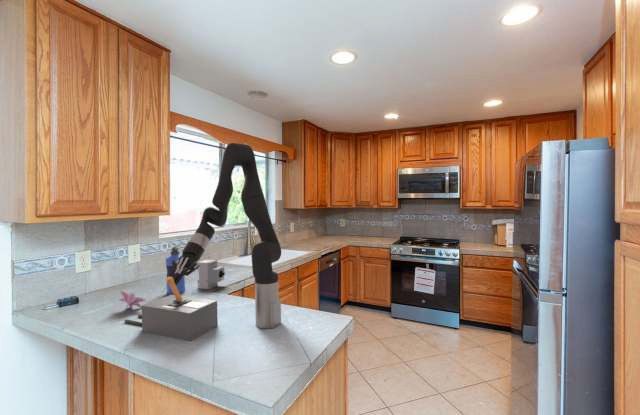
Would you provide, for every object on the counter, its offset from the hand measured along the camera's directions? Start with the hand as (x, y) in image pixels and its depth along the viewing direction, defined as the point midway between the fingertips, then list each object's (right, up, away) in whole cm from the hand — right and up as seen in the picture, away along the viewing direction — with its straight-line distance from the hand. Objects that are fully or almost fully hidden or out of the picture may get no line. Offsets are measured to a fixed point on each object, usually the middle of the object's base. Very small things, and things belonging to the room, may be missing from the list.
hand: (173, 283), depth 114 cm
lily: (-31, -18, +23) cm, 43 cm away
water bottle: (-23, -18, +50) cm, 58 cm away
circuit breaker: (-7, -17, +59) cm, 62 cm away
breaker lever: (+1, -7, +2) cm, 8 cm away
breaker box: (-6, -18, +5) cm, 20 cm away
